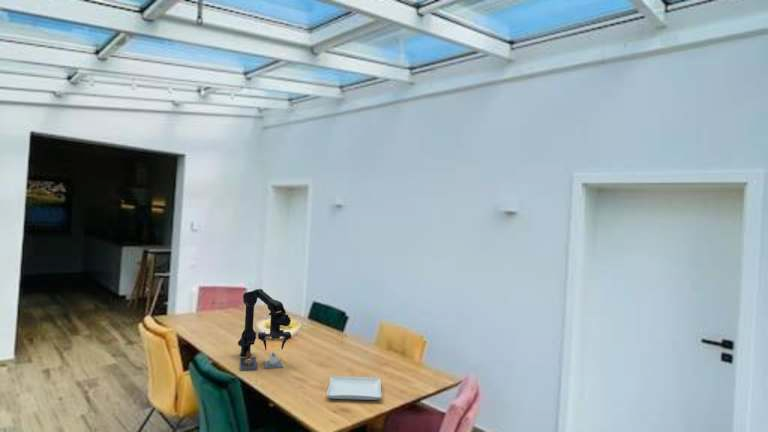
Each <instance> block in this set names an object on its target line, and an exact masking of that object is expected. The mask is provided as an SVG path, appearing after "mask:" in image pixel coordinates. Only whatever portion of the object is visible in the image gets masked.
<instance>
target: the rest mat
mask: <svg viewBox="0 0 768 432" xmlns="http://www.w3.org/2000/svg"><path fill="white" fill-rule="evenodd" d="M263 366H264V369H266V370H267V369H282V368H284V367H283V363H282V361H281V359H277V365H271V366H270V364H269V360H263Z"/></svg>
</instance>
